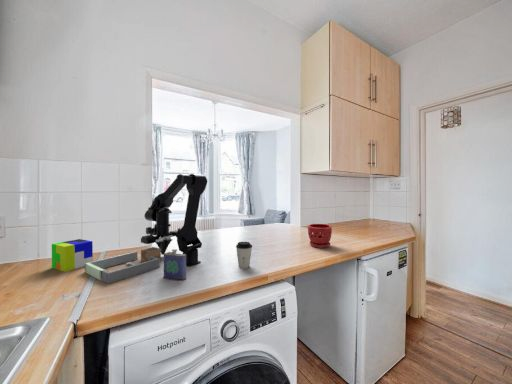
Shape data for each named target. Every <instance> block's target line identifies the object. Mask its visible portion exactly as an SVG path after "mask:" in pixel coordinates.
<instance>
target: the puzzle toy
mask: <svg viewBox="0 0 512 384" xmlns="http://www.w3.org/2000/svg"><path fill="white" fill-rule="evenodd" d="M93 244H94V243H93V241H92V240H87V239H81V238H78V239H73V240H67V241H60V242H56V243H55V242H54V243H51V269H54V268H55V270H58V271H61V272H64V273H65V272H70V271H73V270H77V269H81V268H83V267H84V268H85V263H88V262H93V261H94V260H93V259H94V258H93V256H94V255H93V254H94V253H93V251H94V249H93V246H94V245H93Z"/></svg>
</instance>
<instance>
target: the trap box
mask: <svg viewBox="0 0 512 384" xmlns="http://www.w3.org/2000/svg"><path fill="white" fill-rule="evenodd" d="M136 260H138V251H132V252H128V253H123V254H119V255H115V256H111V257H106V258H102V259H101V258H100V259H98V260H93V262H88V263H85V266H84V273H86V274H88V275H89V276H92V277H94V278H95V279H96V280H99V281H102V282H104V283H106V284H112V283H115V282H118V281H120V280H121V281H122V280H125V279H126V278H130V277H133V276H135V275H140V274H142V273H146V272H149V271H152V270H155V269H158V268H160V267H161V266H160V265H161V264H160V263H161V261H160V260H161V259H159V258H155V257H153V256H151V257H149V261H147V262H144V261H142V262H140V263H134V262H133V261H136ZM120 264H125V267H122V268H119V269H115V270H111V271H109V270H107V269H106V268H110V267H114V266H116V265H120Z"/></svg>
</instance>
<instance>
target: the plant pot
mask: <svg viewBox="0 0 512 384" xmlns="http://www.w3.org/2000/svg"><path fill="white" fill-rule="evenodd" d="M332 231H333V230H332V225H330V224H328V223H327V224H326V223H312V224H308V225H307V233H308V234H307V235H308V238H309V245H310V246H311V247H313V248H318V249H320V248H321V249H323V248H325V247H327V248H329V247H330V246H331V242H330V241H331V239H332V234H333V233H332ZM325 249H326V248H325Z"/></svg>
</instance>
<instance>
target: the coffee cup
mask: <svg viewBox="0 0 512 384" xmlns="http://www.w3.org/2000/svg"><path fill="white" fill-rule="evenodd" d="M235 248H236V255H237V257H236V258H237V262H238V263H237V264H238V268H239V267H240V268H239V269H244V268H245V269H248V267H249V268H250V265H251V258H252V257H251V256H252V248H253V244H251V243H250V242H248V241H239V242H237V244H236V246H235Z"/></svg>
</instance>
